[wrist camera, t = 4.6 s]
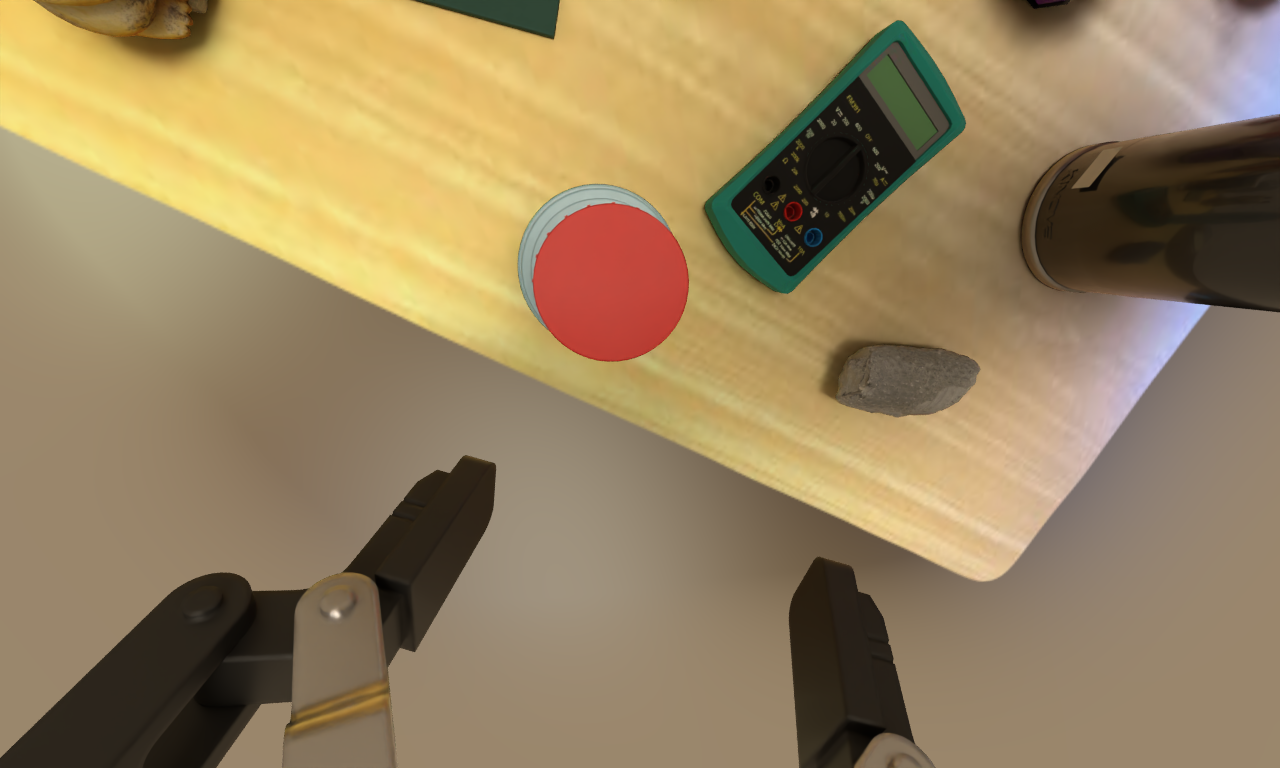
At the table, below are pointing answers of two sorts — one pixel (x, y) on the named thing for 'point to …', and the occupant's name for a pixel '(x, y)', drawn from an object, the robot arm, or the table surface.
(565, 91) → the table surface
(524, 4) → the mat
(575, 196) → the bottle
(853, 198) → the digital multimeter
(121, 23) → the decorative figurine
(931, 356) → the rock
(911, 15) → the table surface
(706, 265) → the table surface
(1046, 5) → the potion bottle
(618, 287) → the cap
